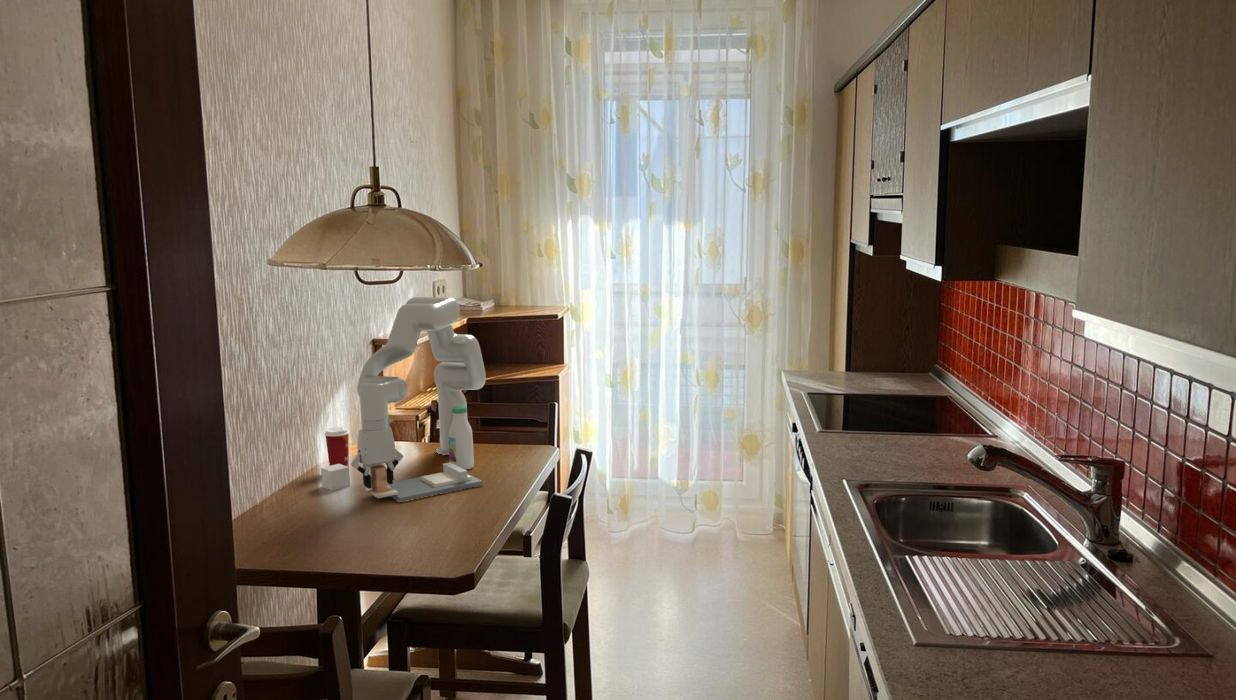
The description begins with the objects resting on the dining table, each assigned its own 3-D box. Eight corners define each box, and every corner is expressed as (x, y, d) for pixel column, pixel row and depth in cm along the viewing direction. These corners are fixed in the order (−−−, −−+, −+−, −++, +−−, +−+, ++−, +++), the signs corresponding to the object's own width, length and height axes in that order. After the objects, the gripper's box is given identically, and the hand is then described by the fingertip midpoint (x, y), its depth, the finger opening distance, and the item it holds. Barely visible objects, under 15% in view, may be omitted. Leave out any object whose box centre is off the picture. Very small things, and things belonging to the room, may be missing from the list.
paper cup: (355, 472, 282) (352, 429, 280) (331, 476, 277) (328, 433, 275) (346, 467, 288) (344, 425, 286) (323, 471, 283) (320, 429, 281)
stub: (365, 490, 257) (363, 464, 256) (385, 486, 260) (383, 460, 259) (378, 498, 249) (376, 471, 248) (398, 494, 252) (396, 467, 251)
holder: (379, 489, 262) (378, 473, 262) (458, 473, 278) (458, 458, 277) (400, 503, 250) (399, 486, 249) (482, 485, 265) (481, 469, 264)
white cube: (332, 490, 263) (330, 471, 262) (322, 487, 267) (320, 467, 266) (350, 486, 267) (349, 467, 266) (340, 482, 271) (339, 463, 270)
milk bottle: (475, 464, 289) (472, 404, 286) (472, 470, 281) (469, 409, 278) (451, 464, 288) (449, 405, 285) (448, 471, 281) (445, 410, 278)
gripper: (398, 417, 259) (402, 477, 262) (341, 426, 249) (345, 488, 252) (408, 422, 253) (412, 482, 256) (350, 431, 243) (354, 494, 246)
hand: (378, 484), depth 254 cm, fingers open, 5 cm apart
